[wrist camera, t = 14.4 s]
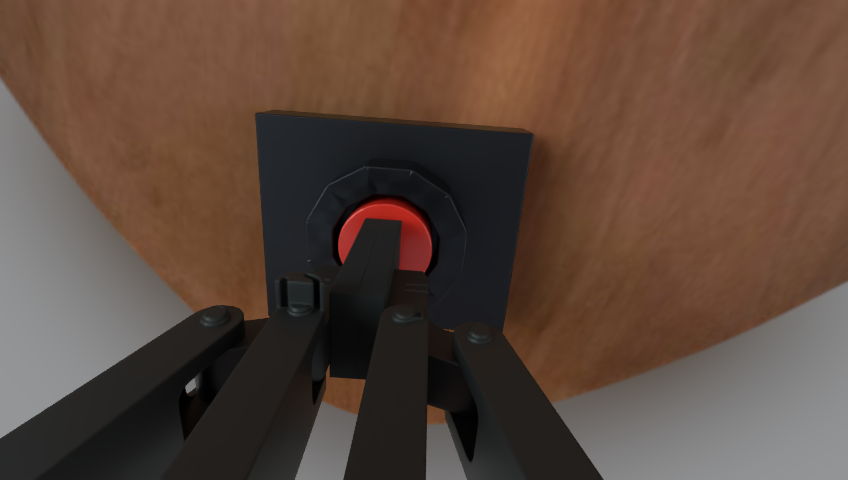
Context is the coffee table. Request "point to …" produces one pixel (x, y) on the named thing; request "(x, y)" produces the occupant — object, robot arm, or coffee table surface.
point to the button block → (404, 177)
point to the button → (412, 232)
